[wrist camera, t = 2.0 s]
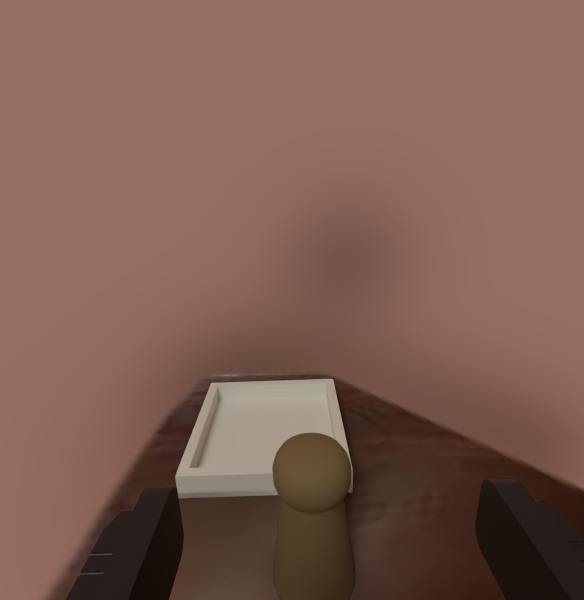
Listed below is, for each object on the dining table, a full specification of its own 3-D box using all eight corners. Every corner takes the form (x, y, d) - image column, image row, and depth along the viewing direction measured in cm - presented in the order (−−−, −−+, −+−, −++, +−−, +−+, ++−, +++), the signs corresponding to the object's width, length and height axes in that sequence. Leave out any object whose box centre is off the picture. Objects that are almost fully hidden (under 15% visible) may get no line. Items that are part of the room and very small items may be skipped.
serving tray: (332, 395, 49) (332, 378, 48) (352, 492, 34) (352, 470, 33) (213, 399, 49) (211, 383, 48) (178, 498, 34) (175, 476, 33)
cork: (320, 520, 31) (318, 409, 28) (373, 581, 26) (379, 455, 23) (257, 562, 28) (247, 442, 24) (305, 639, 23) (300, 503, 20)
